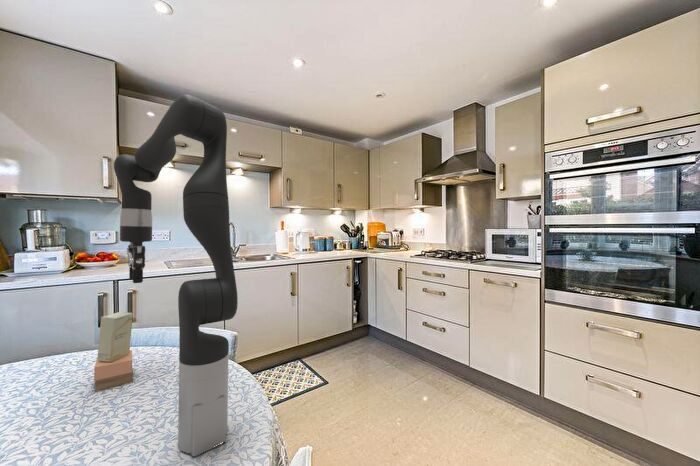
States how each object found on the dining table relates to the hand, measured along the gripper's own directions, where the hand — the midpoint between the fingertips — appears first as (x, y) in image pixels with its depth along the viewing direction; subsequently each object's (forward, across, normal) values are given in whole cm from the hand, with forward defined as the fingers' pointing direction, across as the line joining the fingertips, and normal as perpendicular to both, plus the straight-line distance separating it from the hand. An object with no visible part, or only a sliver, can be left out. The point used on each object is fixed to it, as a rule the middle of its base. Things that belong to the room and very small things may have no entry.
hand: (135, 280), depth 83 cm
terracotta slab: (+25, +2, +4) cm, 26 cm away
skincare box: (+22, +2, +5) cm, 22 cm away
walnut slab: (+29, +2, +4) cm, 29 cm away
